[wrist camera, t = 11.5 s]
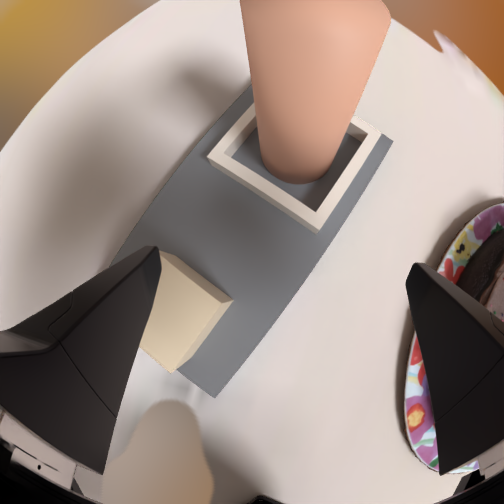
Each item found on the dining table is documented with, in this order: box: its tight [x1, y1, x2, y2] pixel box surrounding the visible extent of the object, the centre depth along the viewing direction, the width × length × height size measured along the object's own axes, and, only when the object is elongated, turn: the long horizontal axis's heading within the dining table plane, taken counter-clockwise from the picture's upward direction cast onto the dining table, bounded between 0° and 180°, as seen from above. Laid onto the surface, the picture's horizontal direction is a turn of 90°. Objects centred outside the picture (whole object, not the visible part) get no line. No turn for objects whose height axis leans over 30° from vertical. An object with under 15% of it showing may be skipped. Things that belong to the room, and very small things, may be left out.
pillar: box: [240, 0, 391, 185], centre depth 13 cm, size 5×5×13 cm
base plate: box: [109, 84, 393, 398], centre depth 18 cm, size 12×23×6 cm, turn 144°
